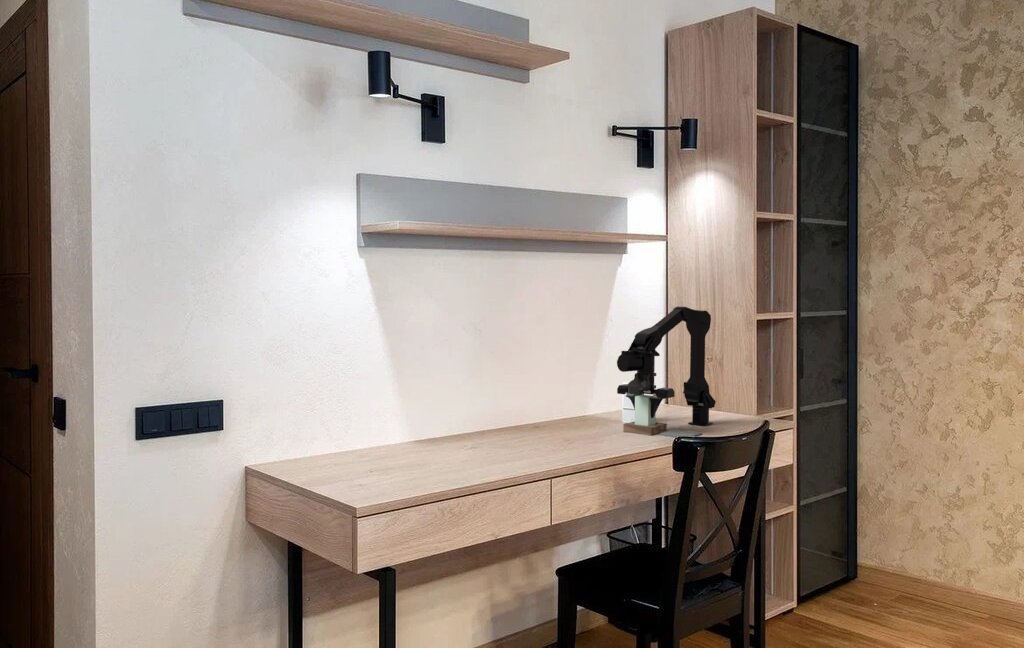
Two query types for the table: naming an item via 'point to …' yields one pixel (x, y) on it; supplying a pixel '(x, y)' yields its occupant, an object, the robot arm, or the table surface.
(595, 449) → the table surface
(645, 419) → the sage block
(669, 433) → the mat
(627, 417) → the syrup box
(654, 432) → the pocket block
